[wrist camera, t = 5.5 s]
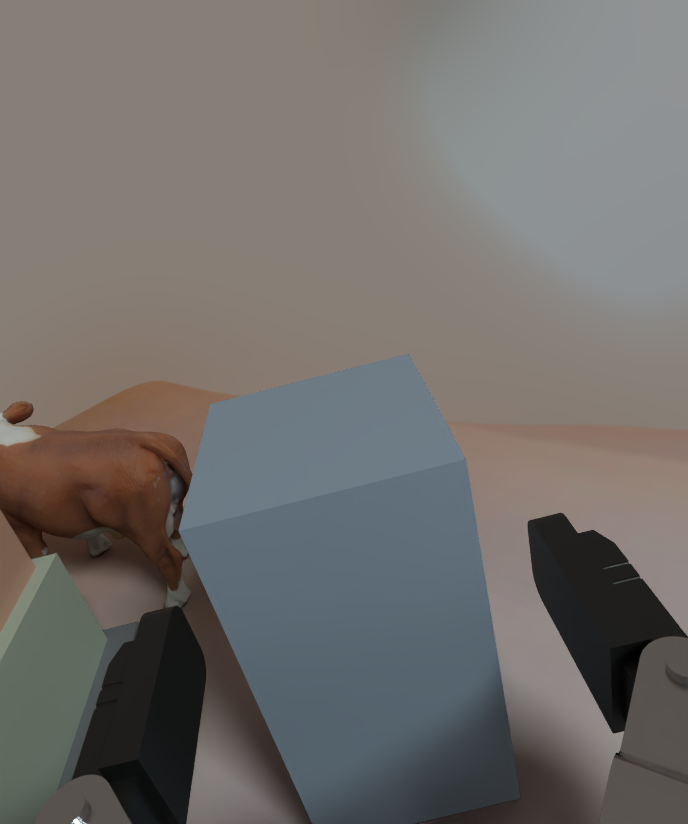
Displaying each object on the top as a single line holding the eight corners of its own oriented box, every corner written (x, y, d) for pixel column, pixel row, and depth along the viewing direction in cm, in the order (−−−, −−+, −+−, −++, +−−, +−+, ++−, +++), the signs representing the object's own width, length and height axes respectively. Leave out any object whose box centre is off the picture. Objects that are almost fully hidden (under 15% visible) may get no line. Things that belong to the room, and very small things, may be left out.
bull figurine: (55, 519, 31) (-23, 383, 28) (256, 558, 25) (189, 386, 21) (-19, 578, 28) (-118, 433, 25) (190, 641, 22) (97, 454, 18)
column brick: (322, 845, 15) (177, 531, 10) (312, 674, 19) (209, 404, 14) (520, 798, 14) (465, 459, 10) (464, 637, 19) (408, 353, 14)
